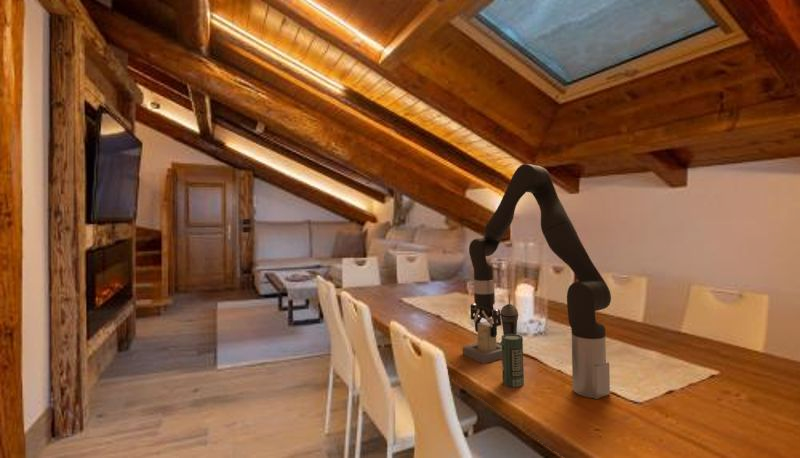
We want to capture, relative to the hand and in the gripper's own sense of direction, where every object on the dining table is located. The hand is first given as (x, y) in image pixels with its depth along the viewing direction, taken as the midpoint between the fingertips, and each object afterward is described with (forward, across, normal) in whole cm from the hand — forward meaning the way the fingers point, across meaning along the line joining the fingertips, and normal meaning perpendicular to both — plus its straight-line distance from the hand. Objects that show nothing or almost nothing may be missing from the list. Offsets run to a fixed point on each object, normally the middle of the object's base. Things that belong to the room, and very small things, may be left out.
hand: (485, 334), depth 159 cm
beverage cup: (+8, +6, -18) cm, 21 cm away
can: (+9, -24, +10) cm, 27 cm away
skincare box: (+8, 0, 0) cm, 8 cm away
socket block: (+8, 0, 0) cm, 8 cm away
